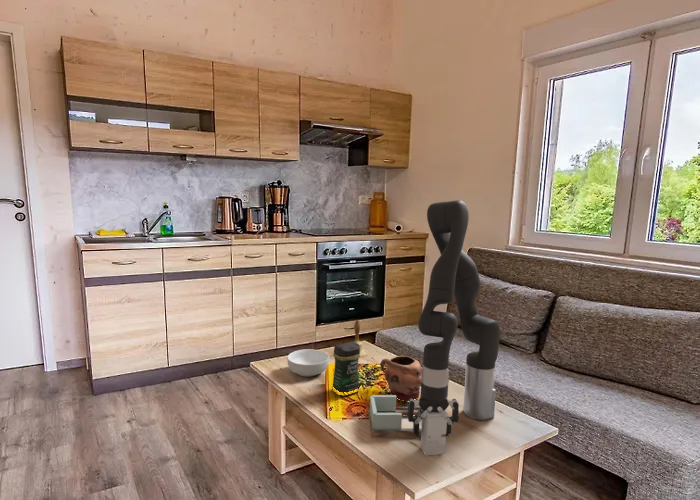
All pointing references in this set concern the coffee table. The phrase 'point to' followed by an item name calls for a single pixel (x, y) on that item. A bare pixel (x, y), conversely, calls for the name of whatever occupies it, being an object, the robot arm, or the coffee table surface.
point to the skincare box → (433, 433)
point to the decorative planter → (403, 376)
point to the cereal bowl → (308, 362)
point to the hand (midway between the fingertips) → (431, 434)
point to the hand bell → (357, 329)
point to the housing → (384, 419)
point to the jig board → (395, 433)
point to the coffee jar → (346, 367)
